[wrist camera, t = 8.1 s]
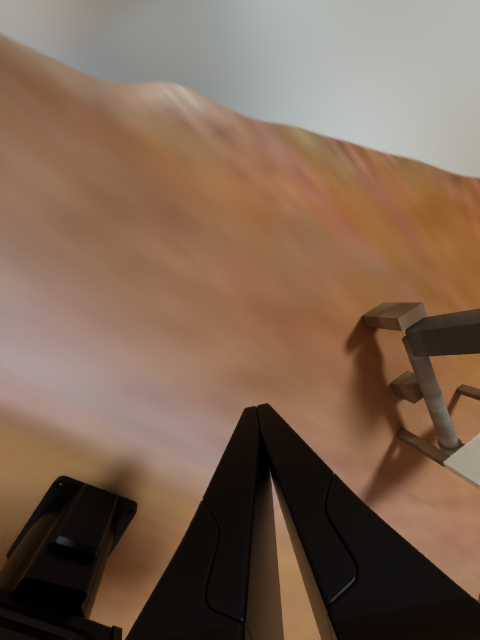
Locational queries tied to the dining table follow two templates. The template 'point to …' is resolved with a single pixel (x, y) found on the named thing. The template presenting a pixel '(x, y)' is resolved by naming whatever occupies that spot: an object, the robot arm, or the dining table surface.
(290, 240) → the dining table surface
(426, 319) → the block-topped post frame
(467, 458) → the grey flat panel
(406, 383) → the peg stand
